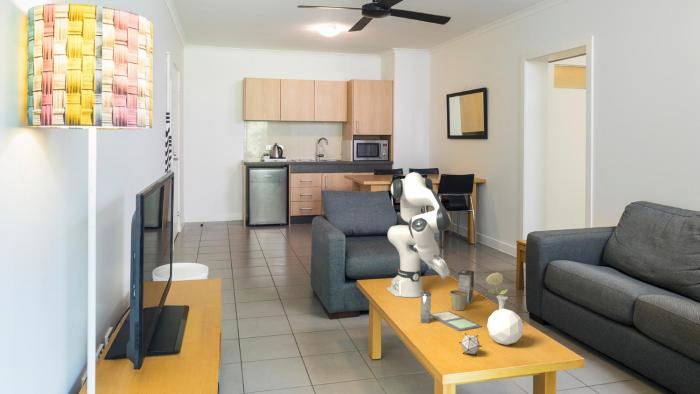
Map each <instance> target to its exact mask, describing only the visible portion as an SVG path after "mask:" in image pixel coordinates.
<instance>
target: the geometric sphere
mask: <svg viewBox="0 0 700 394" xmlns="http://www.w3.org/2000/svg"><path fill="white" fill-rule="evenodd" d="M486 325H487V326H486V327H487V331H488V333H489V335H488V336H489V337H490V338H491V339H492V340H494V341H495V342H496V343H498V344H501V345H504V346H509V345H511V344H516V342H517V341H519V340H520V339H521V337H523V336H522V335H523V330H524V325H523V321H522V318H521V317H520V316H519V315H518V314H517V313H516V312H515V311H513V310H510V309H507V308H504V309H501V310H499V309H496V310H495V311H493V312H492V313H491V315H489V317H488V320H487V324H486Z"/></svg>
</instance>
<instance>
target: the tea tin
mask: <svg viewBox="0 0 700 394" xmlns="http://www.w3.org/2000/svg"><path fill="white" fill-rule="evenodd" d="M431 303H432V292H431V291H424V292H421V296H420V323H422V324H424V323H427V325H428V324H431V317H430V316H431V314H432V313H431V312H432V311H431V307H432V304H431Z"/></svg>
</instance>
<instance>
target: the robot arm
mask: <svg viewBox="0 0 700 394" xmlns="http://www.w3.org/2000/svg"><path fill="white" fill-rule="evenodd" d="M434 190H435V186H434V183H433V180H432V179H431V177H423V176H422V174H420V173H418V172H415V171H413V172H409V173H408V174H407V175H406V176H405V178H401V179H400V178H396V179H394V180H393V181H392V182H391V186H390V193H391V194H392V195H391V196H392V197H393V198H394V199H396V200H399V202H400V206H399V207H400V217H401V219H402V220H403V221H404V222H406V223H408V225H406V224H405V225H404V224H398V225H392V226H391V227H389V228H388V231H387V239H388V242H389V243H391V244H392V245H393V246H394V247H395V248H396V250H397V253H398V254H399V268H398V269H397V272H398V273H397V275H396V276H395V277H394V278H392V279H391V281H390V282H391V284H390V286H388V287H386V290H387V292H388V291H389V293H391V294H392V295H393V296H394V297H403V298H418V297H421V292H425V291H424V289H423V281H422V280H423V279H422V277H421V273H422V272H421V260H422V261H423V262H424V263H425V265H427V267H428V268H429V270H434V271H435V272H437V274H439V277H440V279H442V280H445V279H446V278H447V277H448V276H449V274H450V269H449V267H448V264H447V263H446V261H445V260H444V259H443V258H441V256H439V255H440V253H441V251H440V248H439V245H438V243H437V240H436V239H435V234H436V233H439V232H444V231H448V230H449V228H450V227H451V225H452V219H451V216H450V214H449V211H448V210H447V209H446V208H445V206H444V204H443V203H442V201H441V200H440V198H439V196H438V195H437V192H435V191H434ZM424 206H425V207H426V206H429V207H433V209H434V210H431V211H428V212H425V213H422V207H424ZM410 246H413V247H412V248H413V249H414V250H415V251H414V250H412V249H411V248H410Z"/></svg>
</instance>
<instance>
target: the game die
mask: <svg viewBox="0 0 700 394" xmlns="http://www.w3.org/2000/svg"><path fill="white" fill-rule="evenodd" d="M464 335H465V336H464V337H463V339H462V340H461V341H459V344H460V345H461V348H462V351H463V353H462V354H463V355H464V354H470V355H474V356H475V357H476V356H477V352H478V351H479V349H480V348H482V347H483V345H481V344H480V341H479V339H478V337H479V334H477V335H471V334H467V333H466V332H465V333H464Z"/></svg>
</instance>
